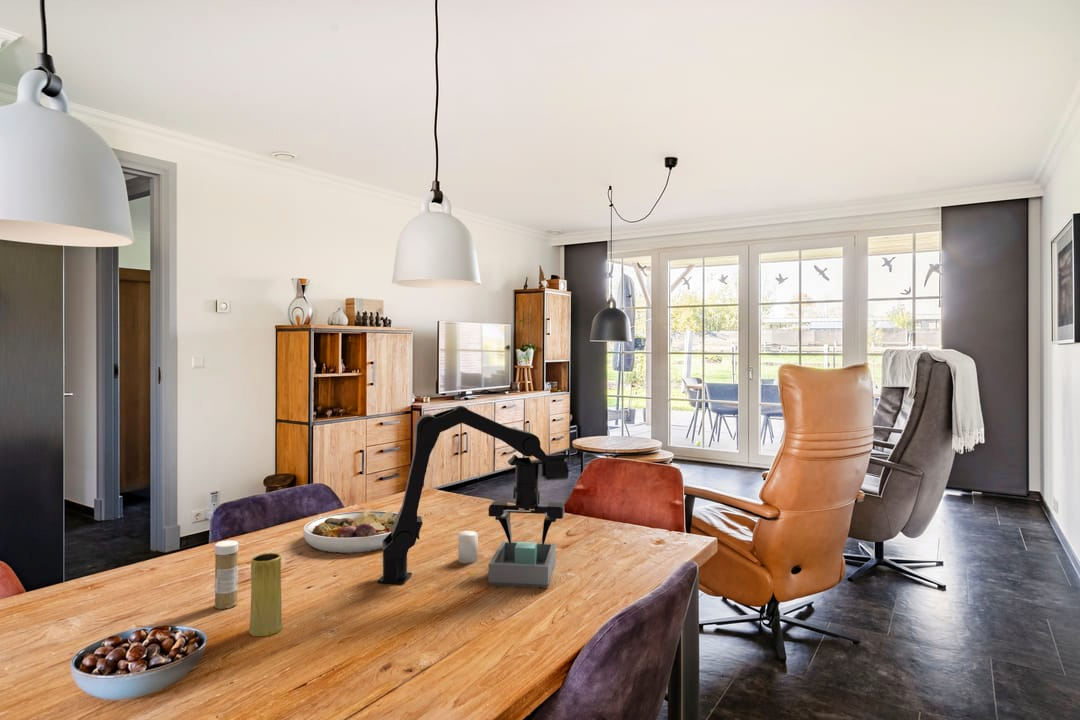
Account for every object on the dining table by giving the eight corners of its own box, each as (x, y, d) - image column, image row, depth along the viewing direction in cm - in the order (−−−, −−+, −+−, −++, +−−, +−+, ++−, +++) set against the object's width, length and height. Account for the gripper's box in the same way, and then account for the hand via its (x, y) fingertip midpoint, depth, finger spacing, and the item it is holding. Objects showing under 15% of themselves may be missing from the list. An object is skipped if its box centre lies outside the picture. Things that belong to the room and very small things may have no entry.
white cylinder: (475, 563, 160) (475, 536, 160) (456, 563, 160) (456, 536, 160) (479, 557, 165) (479, 531, 165) (460, 556, 165) (461, 530, 165)
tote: (548, 588, 143) (548, 566, 143) (488, 585, 145) (488, 564, 145) (555, 562, 161) (555, 543, 161) (502, 560, 163) (502, 541, 163)
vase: (245, 639, 117) (246, 563, 117) (251, 625, 123) (252, 553, 123) (280, 635, 118) (280, 560, 118) (284, 622, 124) (285, 551, 124)
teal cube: (536, 562, 159) (537, 542, 159) (534, 568, 154) (534, 548, 154) (517, 561, 160) (517, 541, 160) (514, 567, 155) (514, 547, 155)
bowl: (297, 533, 187) (297, 507, 187) (396, 522, 201) (396, 497, 201) (310, 563, 161) (310, 532, 161) (423, 547, 174) (423, 519, 174)
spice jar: (219, 601, 134) (219, 539, 134) (241, 601, 135) (241, 539, 135) (210, 610, 130) (210, 546, 130) (233, 609, 130) (233, 545, 130)
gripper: (566, 476, 164) (566, 535, 164) (496, 474, 166) (496, 533, 166) (562, 485, 152) (562, 548, 153) (488, 483, 155) (487, 545, 155)
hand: (526, 543), depth 157 cm, fingers open, 8 cm apart
